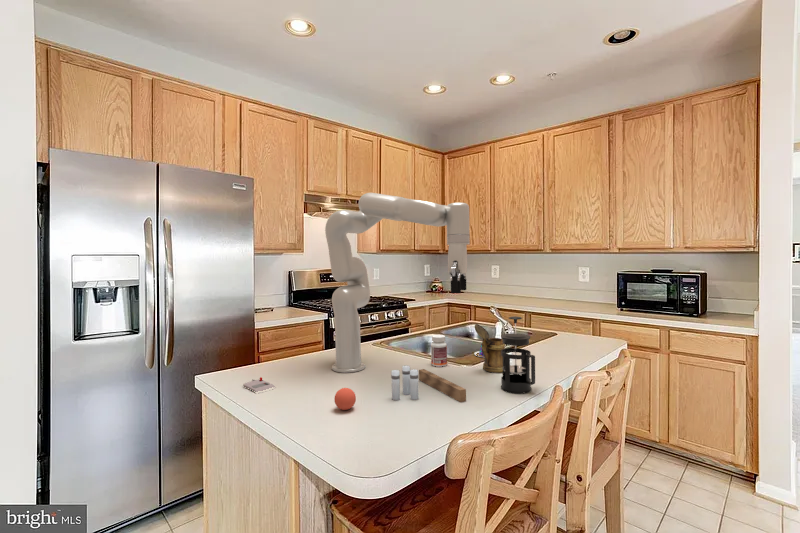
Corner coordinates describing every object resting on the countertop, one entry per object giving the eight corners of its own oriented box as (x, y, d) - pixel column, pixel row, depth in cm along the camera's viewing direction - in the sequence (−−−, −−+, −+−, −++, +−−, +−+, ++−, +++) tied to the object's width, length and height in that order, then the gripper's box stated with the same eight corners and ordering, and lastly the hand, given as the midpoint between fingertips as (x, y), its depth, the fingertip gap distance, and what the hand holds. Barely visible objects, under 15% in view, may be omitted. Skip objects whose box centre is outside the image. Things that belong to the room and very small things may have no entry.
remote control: (259, 397, 128) (259, 387, 128) (237, 386, 139) (237, 377, 139) (278, 391, 132) (278, 382, 132) (256, 381, 143) (256, 373, 143)
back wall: (419, 379, 140) (418, 369, 139) (424, 379, 140) (423, 369, 140) (460, 402, 118) (460, 390, 118) (466, 401, 119) (465, 389, 119)
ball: (331, 407, 116) (331, 387, 116) (351, 403, 119) (351, 383, 118) (338, 415, 111) (338, 393, 110) (359, 410, 113) (358, 389, 113)
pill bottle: (450, 365, 157) (450, 336, 156) (437, 368, 153) (437, 338, 153) (440, 361, 162) (439, 333, 161) (428, 364, 158) (427, 335, 158)
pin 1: (401, 392, 127) (400, 366, 127) (408, 391, 128) (407, 364, 128) (405, 395, 125) (404, 368, 125) (412, 393, 126) (411, 366, 126)
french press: (493, 388, 130) (492, 316, 129) (510, 381, 136) (510, 313, 135) (524, 397, 121) (524, 321, 120) (542, 390, 127) (541, 317, 126)
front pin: (390, 398, 123) (389, 370, 122) (397, 396, 124) (397, 369, 123) (394, 401, 120) (393, 372, 120) (401, 399, 121) (401, 371, 121)
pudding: (509, 356, 170) (509, 344, 169) (488, 361, 163) (488, 348, 163) (488, 350, 180) (488, 339, 179) (468, 355, 173) (467, 342, 173)
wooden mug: (468, 370, 149) (467, 322, 149) (495, 364, 156) (494, 318, 156) (485, 376, 142) (484, 325, 141) (512, 370, 149) (512, 321, 148)
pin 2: (408, 397, 123) (408, 370, 122) (416, 396, 124) (415, 368, 123) (412, 400, 120) (412, 372, 120) (420, 398, 122) (419, 370, 121)
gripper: (452, 241, 145) (453, 289, 145) (440, 240, 128) (441, 294, 129) (473, 240, 142) (474, 289, 143) (464, 239, 126) (465, 294, 127)
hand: (458, 291), depth 136 cm, fingers open, 9 cm apart
